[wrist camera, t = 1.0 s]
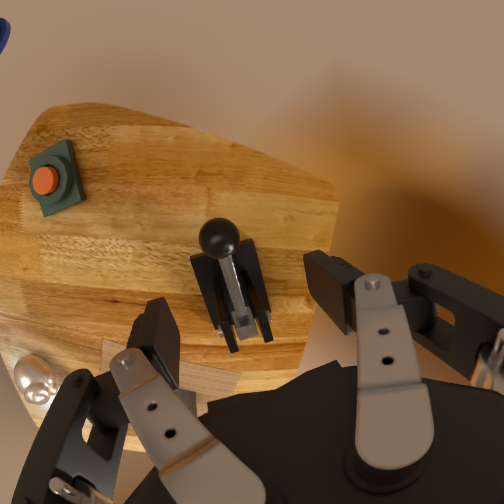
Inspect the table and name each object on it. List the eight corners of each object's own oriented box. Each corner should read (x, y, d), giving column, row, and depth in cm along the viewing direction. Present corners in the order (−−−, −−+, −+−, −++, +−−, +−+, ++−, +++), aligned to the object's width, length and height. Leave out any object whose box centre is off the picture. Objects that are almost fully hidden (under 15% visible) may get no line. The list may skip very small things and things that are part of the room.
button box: (34, 159, 29) (22, 159, 26) (70, 140, 30) (60, 138, 27) (49, 215, 32) (38, 220, 29) (85, 199, 33) (76, 202, 30)
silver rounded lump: (54, 388, 40) (39, 421, 31) (20, 359, 37) (0, 389, 28) (70, 370, 40) (54, 406, 31) (32, 337, 37) (10, 369, 27)
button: (36, 172, 27) (29, 173, 26) (55, 162, 28) (49, 162, 26) (42, 197, 29) (36, 198, 27) (61, 187, 29) (56, 188, 27)
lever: (191, 216, 21) (196, 242, 19) (230, 205, 22) (240, 229, 19) (230, 322, 33) (236, 345, 30) (255, 314, 33) (263, 336, 31)
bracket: (190, 256, 38) (188, 297, 26) (251, 238, 39) (276, 270, 27) (214, 325, 42) (223, 380, 30) (269, 308, 43) (295, 358, 31)
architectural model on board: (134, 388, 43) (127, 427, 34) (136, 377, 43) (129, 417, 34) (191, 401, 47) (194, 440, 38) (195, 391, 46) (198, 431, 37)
